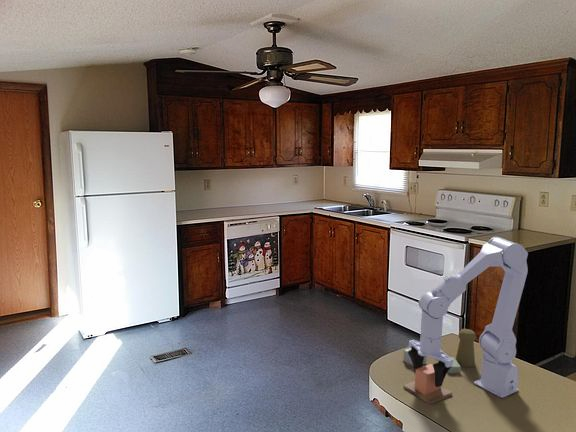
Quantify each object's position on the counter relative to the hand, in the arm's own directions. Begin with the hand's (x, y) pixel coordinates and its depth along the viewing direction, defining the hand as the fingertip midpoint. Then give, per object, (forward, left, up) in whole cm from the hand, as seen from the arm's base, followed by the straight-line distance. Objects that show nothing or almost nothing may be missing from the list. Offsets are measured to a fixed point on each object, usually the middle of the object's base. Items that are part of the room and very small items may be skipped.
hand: (428, 379), depth 136 cm
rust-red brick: (0, 0, -3) cm, 3 cm away
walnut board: (0, 0, -4) cm, 4 cm away
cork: (+6, -24, -4) cm, 25 cm away
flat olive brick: (+6, -17, -4) cm, 18 cm away
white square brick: (+14, -10, -4) cm, 18 cm away
